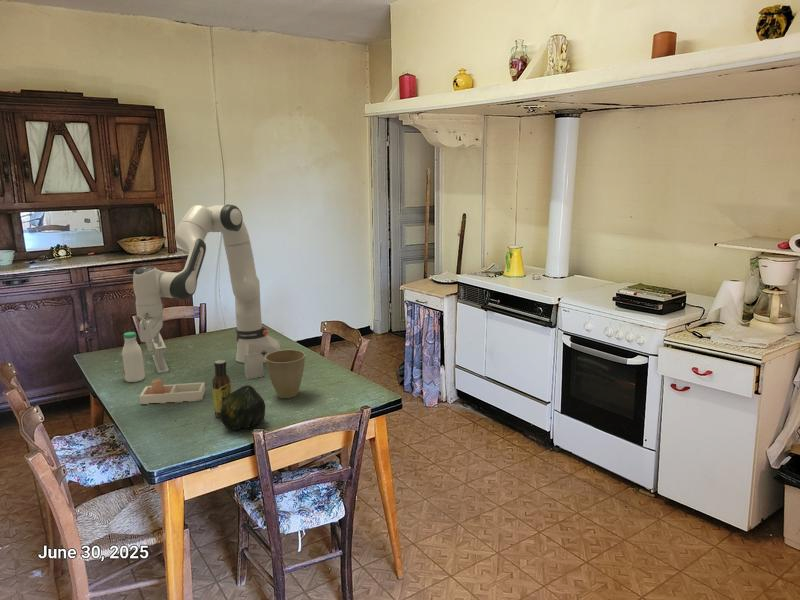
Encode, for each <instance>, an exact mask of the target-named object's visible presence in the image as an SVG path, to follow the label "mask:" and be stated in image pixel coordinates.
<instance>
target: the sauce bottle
mask: <svg viewBox="0 0 800 600" xmlns="http://www.w3.org/2000/svg"><path fill="white" fill-rule="evenodd" d="M213 364H214V365H213V367H214V377H213V378H212V397H213V398H212V400H213V410H214V415H215V417H216V416H217V417H216V418H221V408H222V404H223V401H224V399H225V397H226V396H228V395H229V394H231V393H232V382H231V378H230V377H229V375H228V373H227V361H226V360H225V359H219V360H215V361H214V363H213Z"/></svg>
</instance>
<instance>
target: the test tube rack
mask: <svg viewBox="0 0 800 600" xmlns="http://www.w3.org/2000/svg"><path fill="white" fill-rule="evenodd" d="M153 339H154V338H153ZM153 339H152V344H153V348H154V352H155V354H153V355H152V354H151V355H152V356H151V357H153V358H152V361H153V362H154V367H155V369H156V372H157V373H158V374H164V373H168V372H170V369H169V368H168V365H167V362H166V360H165V358H164V352H163V350H164V349H167V346H166V343H165V342H164V339H163V337H162V335H161V333H160V332H159V342H158V343H154V341H153Z"/></svg>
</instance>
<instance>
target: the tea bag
mask: <svg viewBox="0 0 800 600" xmlns="http://www.w3.org/2000/svg"><path fill="white" fill-rule="evenodd" d="M243 366H244V378H246V380H248V379H250V380H253V379H252V378H255V379H258V378H257V377H260V378H263V377H262V376H265V374H264V363H263V361H262V357H261V353H255V354H250V355H245V360H244V363H243Z"/></svg>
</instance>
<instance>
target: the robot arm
mask: <svg viewBox="0 0 800 600" xmlns="http://www.w3.org/2000/svg"><path fill="white" fill-rule="evenodd" d="M208 233H221V234H222V238H223V245H224V251H225V254H226V255H225V256H226V260H227V263H228V264H227V265H228V271H229V277H230V283H231V289H232V293H233V296H234V303H235V304H234V305H235V306H234V307H235V322H236V328H235V337H236V338H235V339H236V344H237V346H236V347H237V348H236V356H235V361H236V362H239V363H243V364H244V360H245V355H250V354H255V353H261V357H262V361H263V364H266V361H265V356H266V355H267V354H269V353H272V352H275V351H279V350H282V349H281V345H280V343H279V341H278V340H277V339H275V338H274V337H271V336H270V335H268V329H267V327H266V326H265V327H264V326H263V324H262V323H263V322H262V311H261V310H262V309H261V291H260V288H261V287H260V280H259V277H258V275H257V272H256V265H255V258H254V253H253V249H252V244H251V239H250V235H249V232H248V229H247V226H246V224H245V222H244V220H243V214H242V211H241V209H240V208H239V207H238V206H237V205H234V204H229V203H228V204H215V205H211V206H207V207H206V206H204V205H200V204H195V205H192V206H191V207H190V208H189V209H188V210H187V212H186V213H185V214H184V216H183V217H182V219H181V220H180V221H179V224H178V225H177V228H176V229H175V233H174V239H175V241H176V244H177V245H178V246H179V247H180V248H181V249H182V250H183V251H185V252H187V253H188V256H187V259H186V262H185V264H184V268H183V269H182V270H181V271H178V272H172V271H164V270H160V269H158V268H156V267H155V266H153V265H144V266H140V267H138V268H136V269H135V270H134V271H133V275H132V285H133V293H134V296H135V310H136V317H137V318H140V321H139V324H138V326H139V338H140V341H141V342H142V343H145V344H146V345H145V346H146V347H147V352H153V350H155V347H154V344H153V342H152V339H153V338H154V339H153V341H154V343H158V342H159V333H160V331H161V329H162V328H163V325H164V318H163V316H164V315H163V313H164V312H163V311H164V308H165V307H164V304H163V303H162V299H161V298H167V299H168V298H170V299H177V300H181V301H187V300H189V299H190V298H192V297H193V295H195V292H196V290H197V287H198V286H197V285H198V278H199V275H200V272H201V270H202V269H201V268H202V266H203V262H204V259H205V255H206V253H207V246H206V242H205V239H206V237H207V235H208Z"/></svg>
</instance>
